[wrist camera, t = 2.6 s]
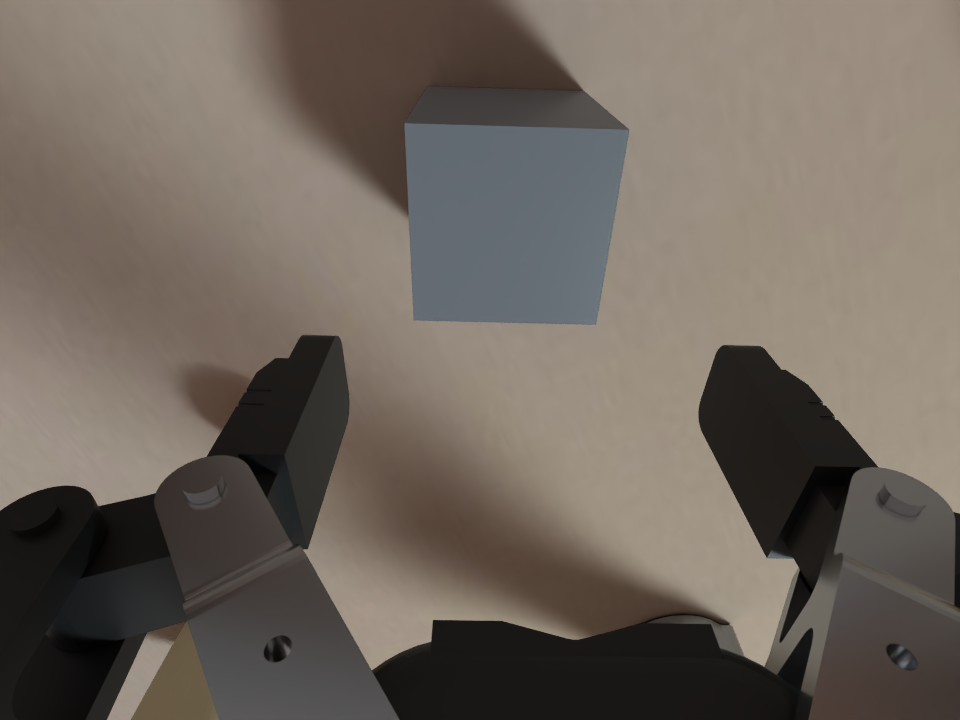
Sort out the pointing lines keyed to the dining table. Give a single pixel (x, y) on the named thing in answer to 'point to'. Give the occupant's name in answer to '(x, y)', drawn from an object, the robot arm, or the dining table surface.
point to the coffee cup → (178, 686)
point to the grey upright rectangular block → (511, 203)
